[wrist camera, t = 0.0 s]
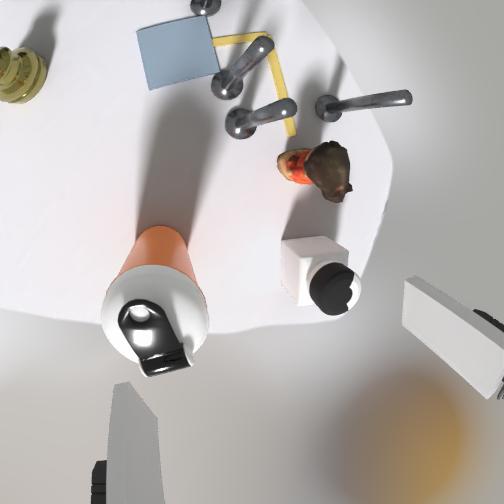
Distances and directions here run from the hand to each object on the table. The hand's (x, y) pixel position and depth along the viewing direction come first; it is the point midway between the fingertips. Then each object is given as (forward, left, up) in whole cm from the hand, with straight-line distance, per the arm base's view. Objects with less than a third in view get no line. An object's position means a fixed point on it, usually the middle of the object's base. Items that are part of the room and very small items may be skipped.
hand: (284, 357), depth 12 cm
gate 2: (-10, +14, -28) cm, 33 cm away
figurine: (-3, +14, -28) cm, 31 cm away
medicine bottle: (+11, +12, -28) cm, 32 cm away
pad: (-22, +2, -28) cm, 36 cm away
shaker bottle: (+3, -7, -28) cm, 29 cm away
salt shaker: (-27, -19, -28) cm, 44 cm away
